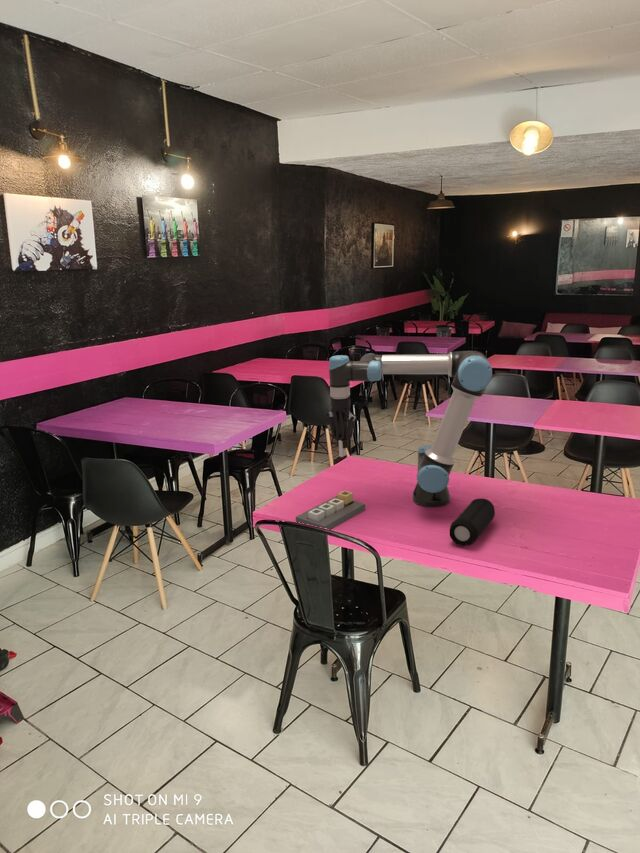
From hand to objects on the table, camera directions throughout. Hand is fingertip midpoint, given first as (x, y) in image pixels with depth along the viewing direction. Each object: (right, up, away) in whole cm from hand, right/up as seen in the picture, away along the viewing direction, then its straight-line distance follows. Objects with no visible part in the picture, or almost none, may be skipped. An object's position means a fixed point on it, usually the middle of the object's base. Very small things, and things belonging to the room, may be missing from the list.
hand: (342, 455), depth 243 cm
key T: (-3, -21, +2) cm, 22 cm away
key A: (-6, -23, -3) cm, 24 cm away
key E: (-10, -24, -7) cm, 27 cm away
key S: (+1, -18, +6) cm, 20 cm away
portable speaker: (+46, -28, -16) cm, 57 cm away
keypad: (-4, -24, 0) cm, 24 cm away
